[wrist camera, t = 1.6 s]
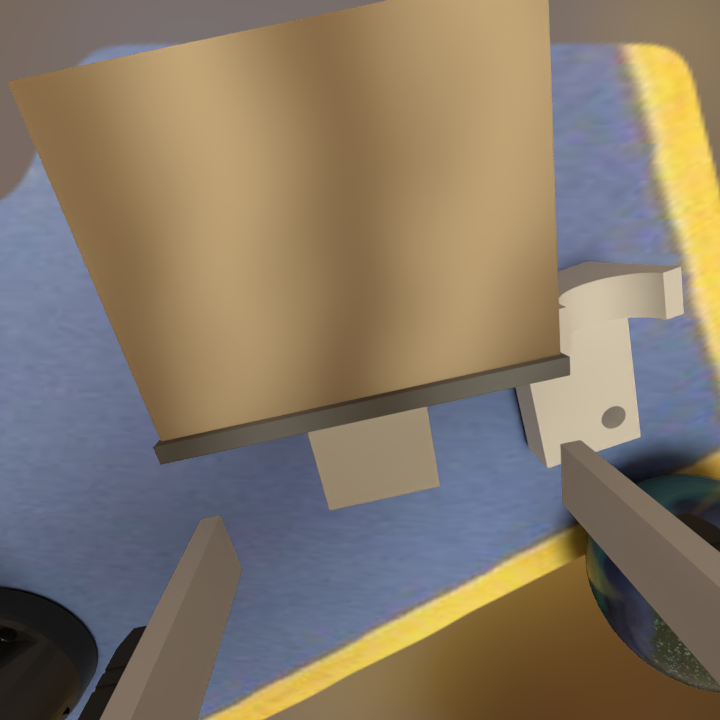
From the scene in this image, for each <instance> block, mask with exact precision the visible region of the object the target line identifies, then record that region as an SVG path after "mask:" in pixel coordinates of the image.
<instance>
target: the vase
mask: <svg viewBox="0 0 720 720" xmlns="http://www.w3.org/2000/svg"><path fill="white" fill-rule="evenodd" d="M636 485H637V486H638V487H639V488H641V489H642V490H643V491H644V492H646V493H647V494H648V495H649V496H650V497H652V498H653V499H654V500H655V501H657V502H658V503H659V504H660V505H662V506H663V507H664V508H665V509H667V510H668V511H669V512H670V513H672V514H673V515H674V516H675V515H680V514H685V513H691V514H693V515H695V516H697V517H699V518H701V519H703V520H705V521H707V522H710V523H712V524H714V525H715V526H716V527H718V528H719V529H720V478H714V477H709V476H703V475H690V474H673V475H665V476H659V477H654V478H650V479H647V480H644V481H641V482H639V483H636ZM585 554H586V570H587V575H588V579H589V583H590V587H591V590H592V593H593V595H594V597H595V600H596V602H597V604H598V606H599V608H600V610H601V612H602V613H603V615H604V617H605V618H606V620H607V622H608V623H609V625H610V626H611V628H612V629H613V631H614V632H615V633H616V634H617V635H618V637H619V638H620V639H621V640H622V641H623V642H624V643H625V644H626V646H627V647H628V648H630V649H631V650H632V651H633V652H634V653H635V654H636V655H637V656H638V657H639V658H640V659H642V660H643V661H644V662H646V663H647V664H648V665H650V666H651V667H653V668H654V669H656V670H657V671H659V672H661V673H662V674H664V675H666V676H667V677H669V678H672V679H674V680H676V681H678V682H680V683H683V684H685V685H688V686H691V687H694V688H698V689H701V690H705V691H710V692H715V693H720V685H719V684H718V683H717V681H716V680H715V679H714V678H713V677H712V676H711V675H710V673H709V672H708V671H707V670H706V669H705V668H704V666H703V665H702V664H701V663H700V662H699V661H698V660H697V658H696V657H695V656H694V655H693V654H692V653H691V651H690V650H689V649H688V648H687V647H686V646H685V644H684V643H683V642H682V641H681V640H680V639H679V638H678V636H677V635H676V634H675V633H674V632H673V631H672V629H671V628H670V627H669V626H668V625H667V624H666V622H665V621H664V620H663V619H662V618H661V617H660V616H659V614H658V613H657V612H656V611H655V610H654V609H653V607H652V606H651V605H650V604H649V603H648V602H647V601H646V599H645V598H644V597H643V596H642V595H641V594H640V592H639V591H638V590H637V589H636V588H635V587H634V585H633V584H632V583H631V582H630V581H629V580H628V579H627V577H626V576H625V575H624V574H623V573H622V572H621V570H620V569H619V568H618V567H617V566H616V565H615V563H614V562H613V561H612V560H611V559H610V558H609V557H608V555H607V554H606V553H605V552H604V551H603V550H602V548H601V547H600V546H599V545H598V544H597V543H596V542H595V540H594V539H593V538H592V537H591V536H590V535H588V538H587V543H586V551H585Z"/></svg>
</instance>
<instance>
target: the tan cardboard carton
mask: <svg viewBox="0 0 720 720" xmlns="http://www.w3.org/2000/svg"><path fill="white" fill-rule="evenodd" d="M308 436H309V439H310V443H311V446H312V450H313V453H314V457H315V460H316V464H317V467H318V471H319V475H320V478H321V482H322V485H323V489H324V492H325V496H326V499H327V503H328V506H329V510H335V509H339V508H344V507H348V506H353V505H357V504H362V503H367V502H371V501H376V500H380V499H385V498H389V497H394V496H398V495H403V494H408V493H412V492H417V491H421V490H426V489H430V488H435V487H440V484H439V478H438V472H437V466H436V460H435V453H434V447H433V441H432V435H431V429H430V423H429V416H428V410H427V407H423V408H418V409H413V410H409V411H404V412H400V413H395V414H390V415H386V416H381V417H377V418H372V419H367V420H363V421H358V422H354V423H349V424H345V425H340V426H335V427H331V428H326V429H322V430H317V431H312V432H308Z"/></svg>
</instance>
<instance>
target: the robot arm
mask: <svg viewBox="0 0 720 720" xmlns="http://www.w3.org/2000/svg"><path fill="white" fill-rule="evenodd" d="M560 449H561V477H562V503H563V505H564V506H565V507H566V508H567V509H568V510H569V511H570V513H571V514H572V515H573V516H574V517H575V518H576V520H577V521H578V522H579V523H580V524H581V525H582V526H583V528H584V529H585V530H586V531H587V532H588V533H589V535H590V536H591V537H592V538H593V539H594V540H595V542H596V543H597V544H598V545H599V546H600V547H601V548H602V550H603V551H604V552H605V553H606V554H607V555H608V557H609V558H610V559H611V560H612V561H613V562H614V563H615V565H616V566H617V567H618V568H619V569H620V570H621V572H622V573H623V574H624V575H625V576H626V577H627V579H628V580H629V581H630V582H631V583H632V584H633V585H634V587H635V588H636V589H637V590H638V591H639V592H640V594H641V595H642V596H643V597H644V598H645V599H646V601H647V602H648V603H649V604H650V605H651V606H652V607H653V609H654V610H655V611H656V612H657V613H658V614H659V616H660V617H661V618H662V619H663V620H664V621H665V622H666V624H667V625H668V626H669V627H670V628H671V629H672V631H673V632H674V633H675V634H676V635H677V636H678V638H679V639H680V640H681V641H682V642H683V643H684V644H685V646H686V647H687V648H688V649H689V650H690V651H691V653H692V654H693V655H694V656H695V657H696V658H697V660H698V661H699V662H700V663H701V664H702V665H703V666H704V668H705V669H706V670H707V671H708V672H709V673H710V675H711V676H712V677H713V678H714V679H715V680H716V681H717V683H718V684H719V685H720V529H719V528H718V527H716V526H715V525H714V524H712V523H710V522H707V521H705V520H703V519H701V518H699V517H697V516H695V515H693V514H691V513H685V514H680V515H675V516H674V515H673V514H672V513H670V512H669V511H668V510H667V509H665V508H664V507H663V506H662V505H660V504H659V503H658V502H657V501H655V500H654V499H653V498H652V497H650V496H649V495H648V494H647V493H646V492H644V491H643V490H642V489H641V488H639V487H638V486H637V485H636V484H634V483H633V482H632V481H631V480H629V479H628V478H627V477H626V476H624V475H623V474H622V473H621V472H620V471H618V470H617V469H616V468H615V467H613V466H612V465H611V464H610V463H608V462H607V461H606V460H605V459H603V458H602V457H601V456H600V455H598V454H597V453H596V452H595V451H594V450H592V449H591V448H590V447H589V446H587V445H586V444H585V443H584V442H582V441H581V440H577V441H572V442H568V443H563V444H560ZM241 572H242V568H241V565H240V563H239V560H238V558H237V555H236V553H235V550H234V548H233V545H232V543H231V540H230V538H229V535H228V533H227V530H226V528H225V525H224V523H223V520H222V518H221V515H219V516H214V517H209V518H204V519H201V520H200V522H199V524H198V526H197V528H196V530H195V532H194V534H193V536H192V538H191V540H190V542H189V544H188V546H187V548H186V550H185V552H184V554H183V556H182V558H181V559H180V561H179V563H178V565H177V567H176V569H175V571H174V573H173V575H172V577H171V579H170V581H169V583H168V585H167V587H166V589H165V591H164V593H163V595H162V597H161V599H160V601H159V603H158V605H157V607H156V609H155V611H154V613H153V615H152V617H151V619H150V621H149V623H148V625H147V626H143V627H138V628H134V629H133V630H132V631H131V632H130V634H129V635H128V636H127V637H126V638H125V640H124V641H123V642H122V643H121V644H120V645H119V647H118V648H117V649H116V651H115V653H114V655H113V657H112V658H111V660H110V662H109V664H108V666H107V668H106V669H105V670H106V672H105V674H103V675H102V677H101V678H100V680H99V682H98V684H97V686H96V690H95V692H93V693H92V695H91V697H90V698H89V700H88V702H87V704H86V706H85V707H84V709H83V711H82V713H81V715H80V717H79V718H78V720H198V716H199V713H200V710H201V706H202V703H203V700H204V696H205V693H206V690H207V686H208V683H209V680H210V676H211V673H212V670H213V666H214V663H215V659H216V656H217V653H218V649H219V646H220V643H221V639H222V636H223V633H224V629H225V626H226V623H227V619H228V616H229V613H230V609H231V606H232V602H233V599H234V596H235V592H236V589H237V586H238V582H239V579H240V576H241ZM96 666H97V652H96V648H95V645H94V642H93V640H92V638H91V636H90V634H89V633H88V632H87V630H86V629H85V628H84V626H83V625H82V624H81V623H80V622H79V621H78V620H77V619H76V618H75V617H73V616H72V615H71V614H70V613H68V612H67V611H65V610H64V609H62V608H61V607H59V606H57V605H55V604H54V603H51V602H49V601H47V600H45V599H42V598H40V597H37V596H34V595H31V594H28V593H24V592H20V591H15V590H9V589H0V720H65V719H66V718H67V717H68V715H69V714H70V713H71V712H72V711H73V709H74V708H75V707H76V705H77V704H78V702H79V700H80V699H81V697H82V695H83V693H84V692H85V690H86V688H87V686H88V685H89V683H90V681H91V679H92V677H93V675H94V673H95V670H96Z"/></svg>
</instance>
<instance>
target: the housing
mask: <svg viewBox="0 0 720 720" xmlns="http://www.w3.org/2000/svg"><path fill="white" fill-rule="evenodd" d="M7 82H8V84H9V87H10V89H11V91H12V94H13V96H14V98H15V101H16V103H17V105H18V108H19V110H20V113H21V115H22V117H23V120H24V122H25V124H26V127H27V129H28V131H29V133H30V136H31V138H32V140H33V143H34V145H35V148H36V150H37V152H38V155H39V157H40V159H41V162H42V164H43V166H44V169H45V171H46V173H47V176H48V178H49V180H50V183H51V185H52V187H53V190H54V192H55V194H56V197H57V199H58V201H59V204H60V206H61V208H62V211H63V213H64V215H65V218H66V220H67V222H68V225H69V227H70V229H71V232H72V234H73V236H74V239H75V241H76V244H77V246H78V248H79V251H80V253H81V255H82V258H83V260H84V262H85V265H86V267H87V269H88V272H89V274H90V276H91V279H92V281H93V283H94V286H95V288H96V290H97V293H98V295H99V297H100V300H101V302H102V304H103V307H104V309H105V311H106V314H107V316H108V318H109V321H110V323H111V325H112V328H113V330H114V332H115V335H116V337H117V339H118V342H119V344H120V346H121V349H122V351H123V353H124V356H125V358H126V360H127V363H128V365H129V367H130V370H131V372H132V374H133V377H134V379H135V382H136V384H137V386H138V389H139V391H140V393H141V396H142V398H143V400H144V403H145V405H146V407H147V410H148V412H149V414H150V417H151V419H152V421H153V424H154V426H155V428H156V431H157V433H158V435H159V438H160V440H159V442H158V443H157V444H156V445H155V446H154V447H153V448H154V450H155V453H156V455H157V457H158V460H159V462H160V464H166V463H170V462H175V461H180V460H184V459H189V458H193V457H198V456H202V455H207V454H212V453H216V452H221V451H225V450H230V449H235V448H239V447H244V446H248V445H253V444H257V443H262V442H267V441H271V440H276V439H280V438H285V437H290V436H294V435H299V434H303V433H308V432H312V431H317V430H322V429H326V428H331V427H335V426H340V425H345V424H349V423H354V422H358V421H363V420H367V419H372V418H377V417H381V416H386V415H390V414H395V413H400V412H404V411H409V410H413V409H418V408H423V407H427V406H432V405H436V404H441V403H445V402H450V401H455V400H459V399H464V398H468V397H473V396H478V395H482V394H487V393H491V392H496V391H500V390H505V389H510V388H514V387H519V386H523V385H528V384H533V383H537V382H542V381H546V380H551V379H555V378H560V377H565V376H569V375H570V357H569V356H567V355H565V354H563V353H561V352H560V326H559V296H558V267H557V237H556V208H555V179H554V149H553V120H552V91H551V61H550V32H549V2H548V0H387V1H383V2H379V3H373V4H369V5H364V6H360V7H354V8H350V9H345V10H340V11H336V12H331V13H326V14H322V15H317V16H312V17H308V18H303V19H298V20H293V21H289V22H284V23H279V24H274V25H270V26H265V27H260V28H256V29H251V30H246V31H242V32H237V33H232V34H227V35H223V36H218V37H214V38H209V39H204V40H199V41H195V42H190V43H185V44H180V45H176V46H171V47H166V48H162V49H157V50H152V51H148V52H143V53H138V54H133V55H129V56H124V57H119V58H115V59H110V60H105V61H101V62H96V63H91V64H86V65H82V66H77V67H72V68H68V69H63V70H58V71H54V72H49V73H44V74H39V75H35V76H30V77H25V78H21V79H16V80H11V81H7Z"/></svg>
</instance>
